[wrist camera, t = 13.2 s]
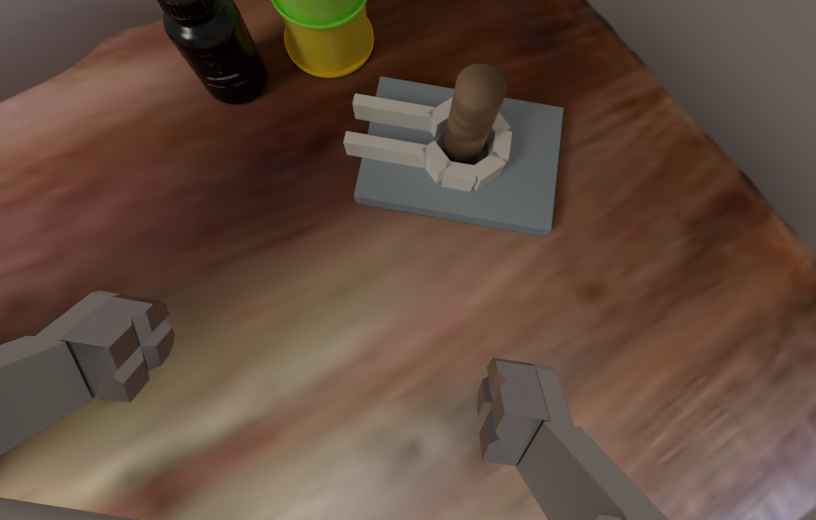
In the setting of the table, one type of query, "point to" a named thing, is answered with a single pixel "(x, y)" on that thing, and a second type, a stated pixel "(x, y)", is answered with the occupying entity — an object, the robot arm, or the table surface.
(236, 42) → the supplement bottle
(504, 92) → the walnut dowel
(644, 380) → the table surface
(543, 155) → the keyhole board
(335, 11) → the stacking cups
